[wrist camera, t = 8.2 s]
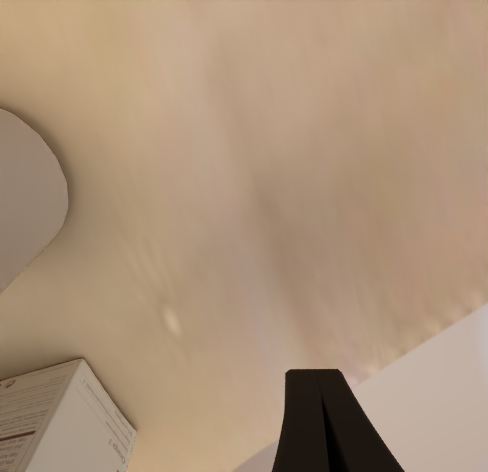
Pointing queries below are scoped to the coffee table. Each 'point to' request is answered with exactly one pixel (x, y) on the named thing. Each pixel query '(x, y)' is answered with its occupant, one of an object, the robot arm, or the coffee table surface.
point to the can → (27, 196)
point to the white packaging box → (61, 423)
